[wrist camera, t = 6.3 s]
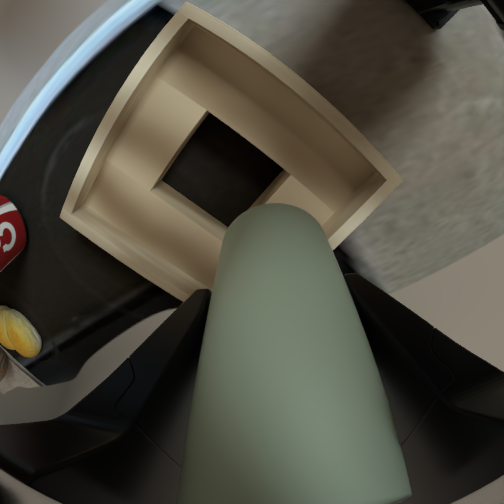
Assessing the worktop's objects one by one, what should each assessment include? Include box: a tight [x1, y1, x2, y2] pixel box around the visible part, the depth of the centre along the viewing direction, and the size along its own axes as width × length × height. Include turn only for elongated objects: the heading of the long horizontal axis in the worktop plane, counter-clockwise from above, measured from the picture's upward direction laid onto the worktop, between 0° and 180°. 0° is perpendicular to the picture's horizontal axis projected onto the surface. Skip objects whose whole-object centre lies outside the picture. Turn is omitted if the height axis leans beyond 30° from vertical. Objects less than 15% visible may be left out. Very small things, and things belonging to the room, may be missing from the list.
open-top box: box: [60, 2, 403, 302], centre depth 18 cm, size 16×16×4 cm
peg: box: [177, 203, 412, 504], centre depth 7 cm, size 4×4×9 cm
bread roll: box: [0, 306, 42, 357], centre depth 29 cm, size 8×9×4 cm
